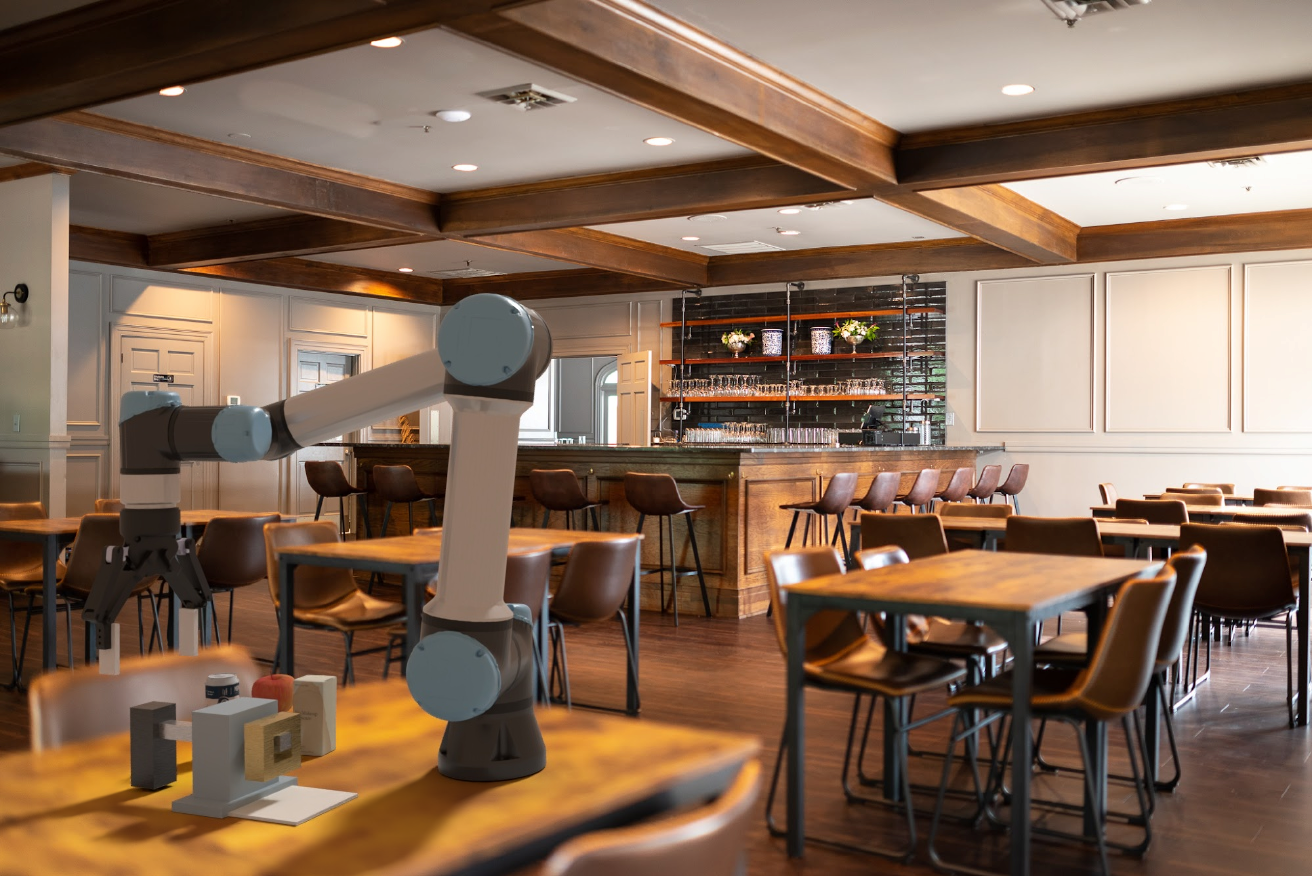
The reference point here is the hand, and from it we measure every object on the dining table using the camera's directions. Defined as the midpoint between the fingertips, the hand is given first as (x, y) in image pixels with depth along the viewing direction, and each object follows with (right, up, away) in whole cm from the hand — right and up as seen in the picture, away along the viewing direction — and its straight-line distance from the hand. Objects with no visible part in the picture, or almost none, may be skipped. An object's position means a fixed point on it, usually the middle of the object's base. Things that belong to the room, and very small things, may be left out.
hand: (150, 664), depth 156 cm
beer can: (+4, -17, +15) cm, 22 cm away
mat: (+22, -16, -9) cm, 29 cm away
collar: (+19, -9, -8) cm, 22 cm away
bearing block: (+13, -16, -5) cm, 22 cm away
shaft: (+10, -16, -4) cm, 19 cm away
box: (+17, -16, +17) cm, 29 cm away
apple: (+4, -17, +40) cm, 43 cm away
